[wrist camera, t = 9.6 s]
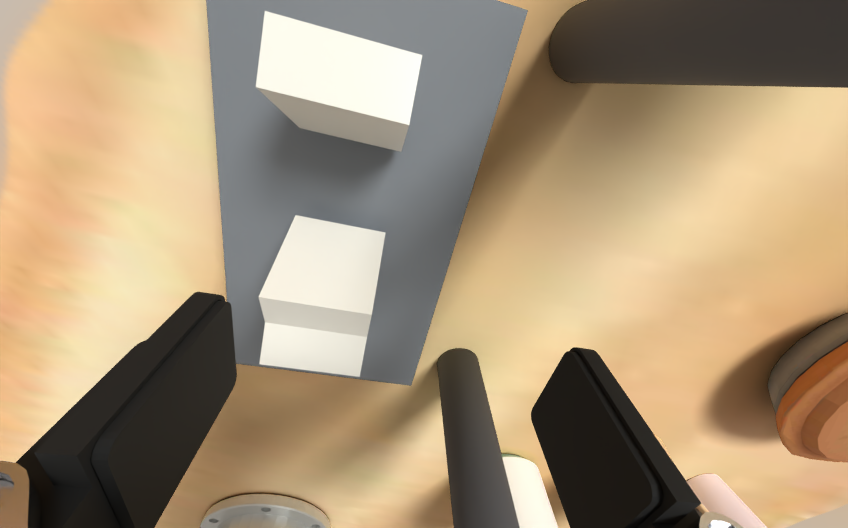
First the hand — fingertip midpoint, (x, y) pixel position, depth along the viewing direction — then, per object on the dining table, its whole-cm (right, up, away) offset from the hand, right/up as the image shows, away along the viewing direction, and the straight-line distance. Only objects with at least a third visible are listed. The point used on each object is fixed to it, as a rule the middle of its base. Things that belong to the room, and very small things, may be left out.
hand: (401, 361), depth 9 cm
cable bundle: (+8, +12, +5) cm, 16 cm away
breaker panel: (-3, +6, +9) cm, 11 cm away
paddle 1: (-2, +9, +4) cm, 10 cm away
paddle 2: (-4, 0, +9) cm, 10 cm away
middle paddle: (-3, +4, +6) cm, 8 cm away
